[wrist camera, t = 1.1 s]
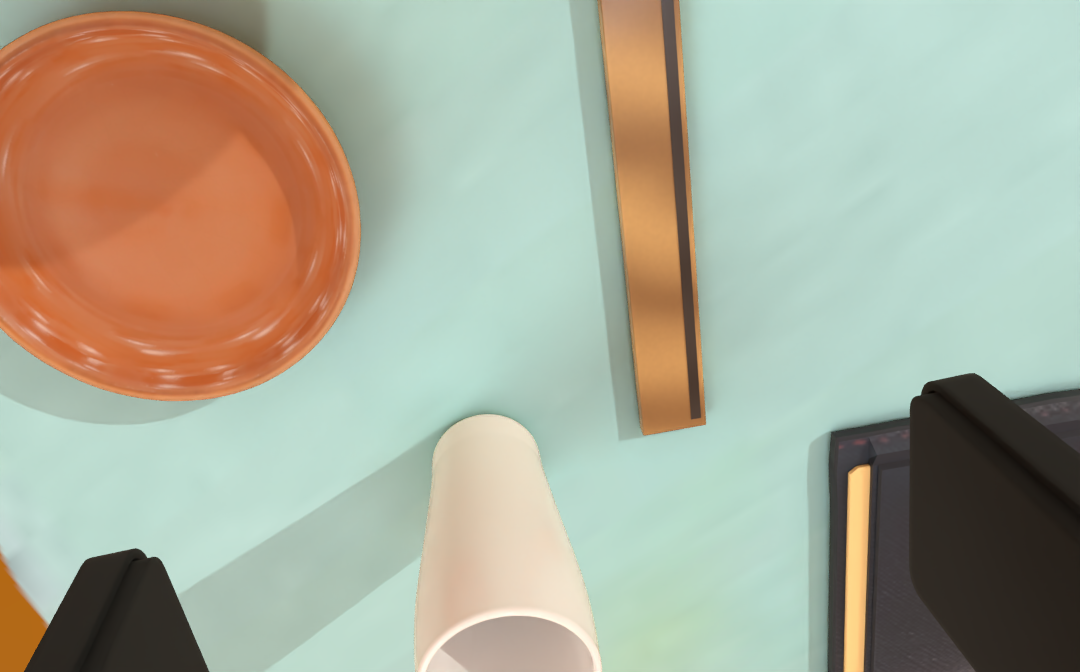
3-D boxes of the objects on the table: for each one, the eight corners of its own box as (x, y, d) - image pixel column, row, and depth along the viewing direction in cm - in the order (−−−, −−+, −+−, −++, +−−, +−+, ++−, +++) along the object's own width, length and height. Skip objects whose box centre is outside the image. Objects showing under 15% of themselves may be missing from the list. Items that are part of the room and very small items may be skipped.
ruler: (569, -276, 33) (572, -280, 32) (655, -288, 33) (661, -293, 32) (640, 427, 46) (643, 436, 45) (701, 416, 46) (706, 425, 45)
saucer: (336, -8, 36) (328, -2, 33) (386, 355, 42) (383, 385, 40) (-90, 18, 34) (-134, 27, 32) (32, 388, 41) (4, 421, 38)
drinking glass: (451, 529, 47) (460, 777, 33) (394, 427, 44) (379, 653, 31) (572, 481, 47) (630, 712, 33) (522, 375, 44) (565, 580, 30)
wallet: (1073, 688, 55) (828, 728, 54) (1053, 664, 56) (816, 703, 55) (1134, 400, 46) (845, 442, 45) (1109, 382, 48) (829, 423, 47)
